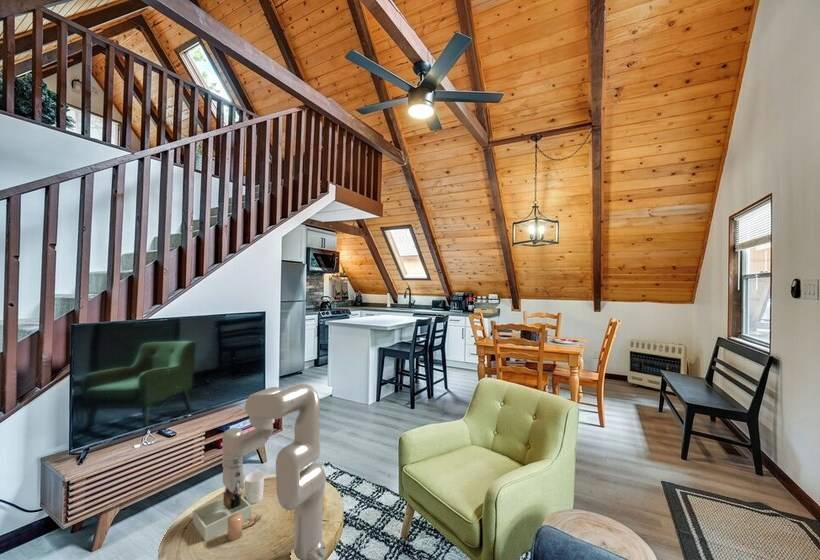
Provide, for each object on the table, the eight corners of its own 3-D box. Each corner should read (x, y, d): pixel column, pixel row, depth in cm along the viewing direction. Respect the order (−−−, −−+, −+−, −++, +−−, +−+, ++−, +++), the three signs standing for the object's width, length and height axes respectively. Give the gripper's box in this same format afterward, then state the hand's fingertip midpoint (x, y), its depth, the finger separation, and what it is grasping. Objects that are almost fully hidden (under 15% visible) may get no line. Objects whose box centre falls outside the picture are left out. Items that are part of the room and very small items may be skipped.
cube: (241, 504, 149) (241, 492, 148) (228, 510, 145) (228, 498, 145) (235, 498, 152) (236, 487, 152) (223, 504, 148) (223, 492, 148)
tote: (250, 517, 147) (251, 505, 147) (204, 540, 135) (205, 527, 134) (237, 503, 156) (237, 491, 156) (192, 523, 143) (192, 511, 143)
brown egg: (244, 535, 138) (244, 517, 137) (230, 542, 134) (231, 524, 134) (238, 528, 141) (238, 511, 141) (225, 536, 137) (225, 518, 137)
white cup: (255, 506, 154) (255, 483, 154) (240, 502, 157) (240, 479, 156) (268, 495, 162) (268, 473, 161) (253, 491, 164) (254, 470, 164)
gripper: (251, 464, 145) (250, 509, 145) (233, 449, 156) (233, 490, 157) (231, 472, 139) (231, 518, 140) (214, 456, 151) (214, 498, 151)
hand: (232, 503), depth 148 cm, fingers closed on cube, 5 cm apart
